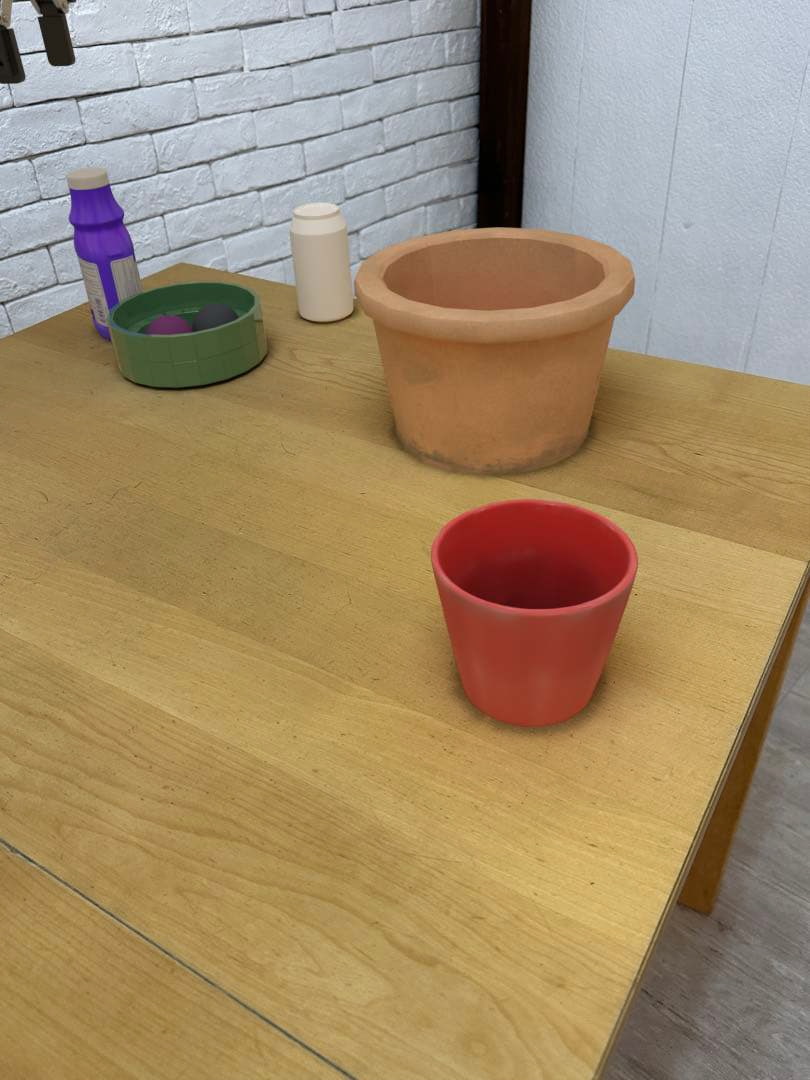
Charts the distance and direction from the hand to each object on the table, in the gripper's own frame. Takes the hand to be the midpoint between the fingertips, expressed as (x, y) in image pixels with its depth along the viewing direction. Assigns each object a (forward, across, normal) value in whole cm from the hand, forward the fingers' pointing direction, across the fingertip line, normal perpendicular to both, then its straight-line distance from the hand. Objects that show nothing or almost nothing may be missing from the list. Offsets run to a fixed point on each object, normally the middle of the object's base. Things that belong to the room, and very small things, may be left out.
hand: (38, 74), depth 74 cm
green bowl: (+28, -6, +6) cm, 29 cm away
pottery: (+28, +6, +38) cm, 48 cm away
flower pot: (+28, +37, +43) cm, 63 cm away
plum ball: (+27, -5, +6) cm, 28 cm away
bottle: (+28, -13, -5) cm, 32 cm away
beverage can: (+28, -19, +17) cm, 38 cm away
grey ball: (+25, -5, +7) cm, 26 cm away
